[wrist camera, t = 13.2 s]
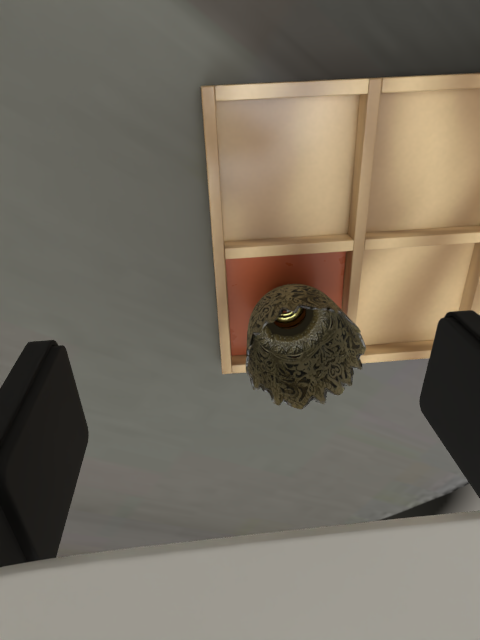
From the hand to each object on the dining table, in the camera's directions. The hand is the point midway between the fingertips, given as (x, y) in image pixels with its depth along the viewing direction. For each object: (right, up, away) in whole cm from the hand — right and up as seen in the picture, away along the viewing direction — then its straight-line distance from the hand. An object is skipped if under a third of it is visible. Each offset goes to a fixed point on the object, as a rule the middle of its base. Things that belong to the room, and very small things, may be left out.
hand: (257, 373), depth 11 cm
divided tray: (+8, +8, +21) cm, 24 cm away
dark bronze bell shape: (+3, +3, +23) cm, 23 cm away
